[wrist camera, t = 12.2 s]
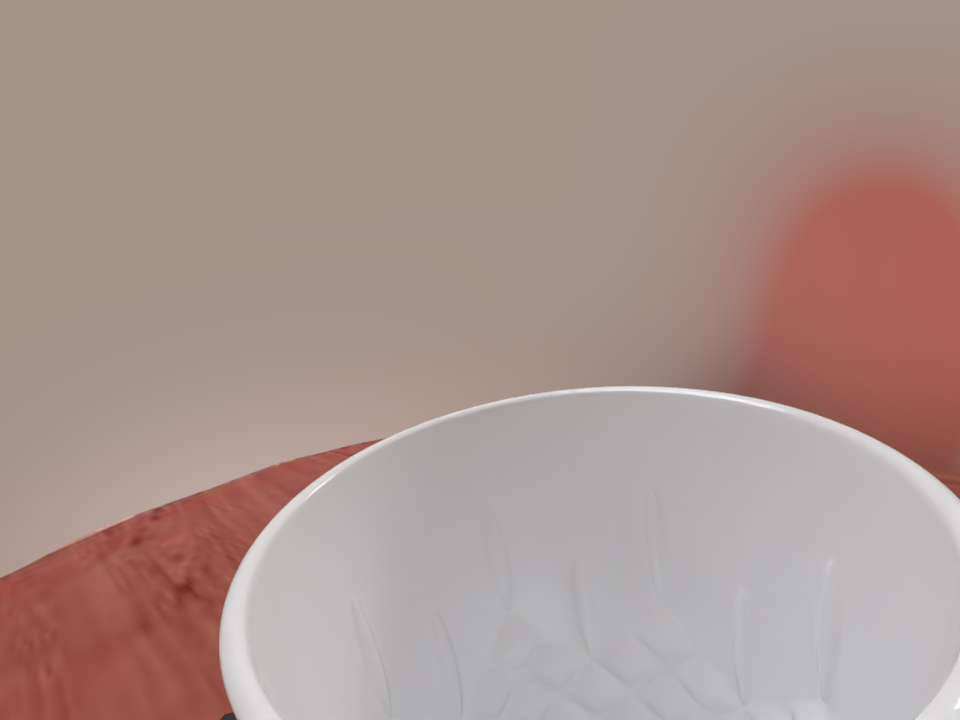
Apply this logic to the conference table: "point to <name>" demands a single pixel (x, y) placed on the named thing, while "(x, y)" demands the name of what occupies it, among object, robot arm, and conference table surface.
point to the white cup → (605, 571)
